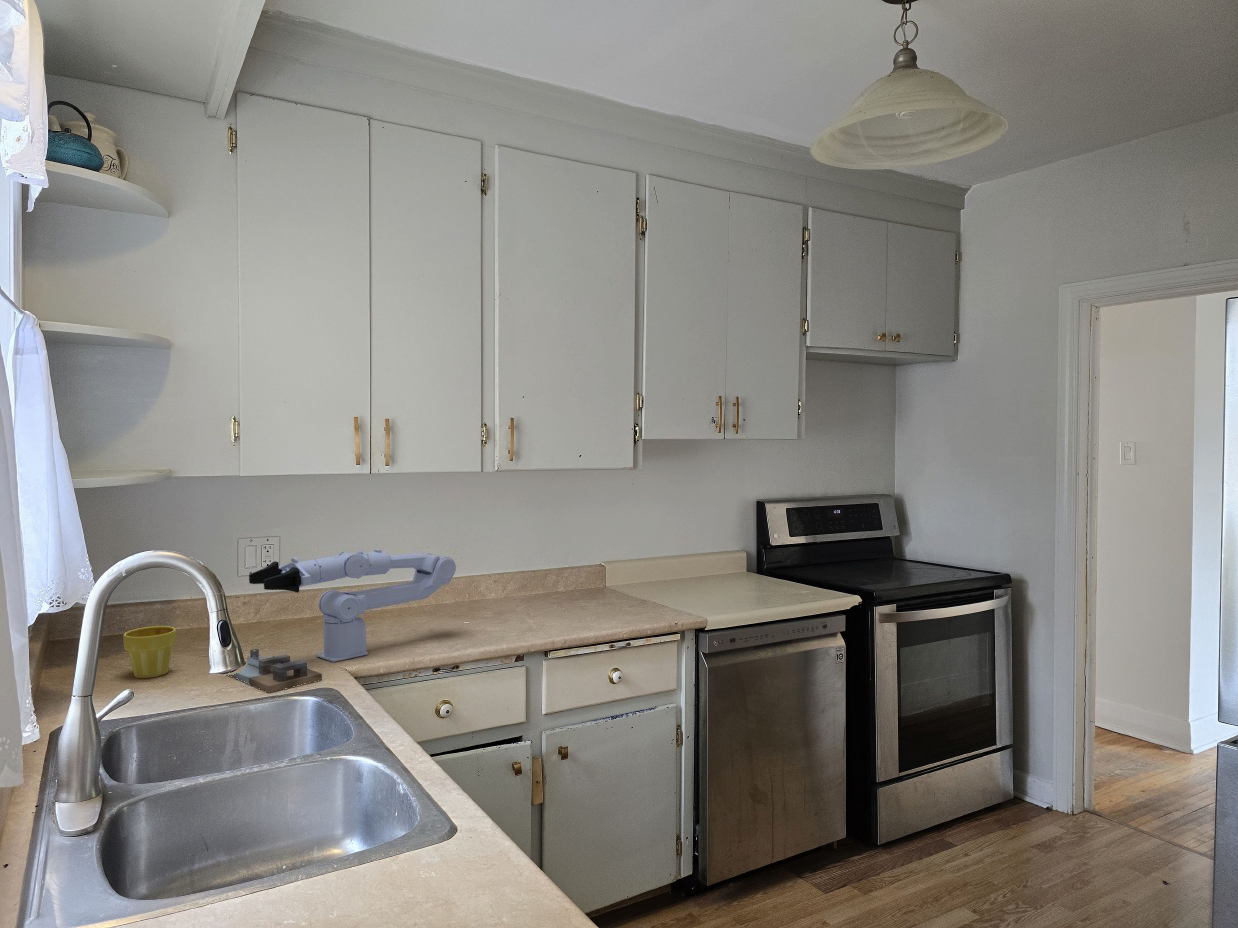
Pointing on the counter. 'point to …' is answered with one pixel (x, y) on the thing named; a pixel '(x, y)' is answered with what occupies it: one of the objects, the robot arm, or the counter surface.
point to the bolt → (257, 659)
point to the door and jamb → (277, 673)
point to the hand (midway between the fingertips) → (256, 581)
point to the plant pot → (150, 650)
